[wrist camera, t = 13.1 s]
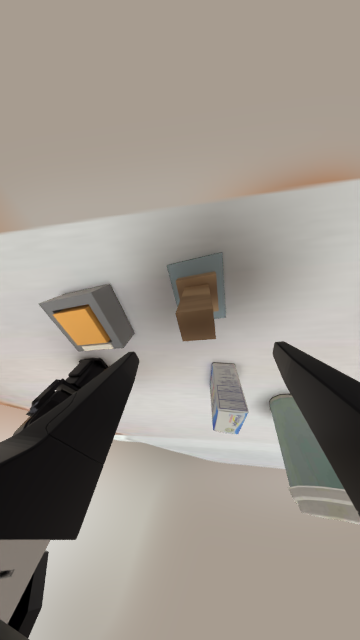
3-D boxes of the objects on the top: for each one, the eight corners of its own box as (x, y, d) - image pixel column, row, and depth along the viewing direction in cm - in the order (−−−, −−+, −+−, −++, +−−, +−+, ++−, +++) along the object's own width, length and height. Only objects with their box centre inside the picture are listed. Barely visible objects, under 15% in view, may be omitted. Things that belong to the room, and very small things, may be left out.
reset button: (118, 330, 23) (107, 342, 20) (92, 333, 24) (77, 345, 21) (101, 299, 20) (84, 308, 17) (72, 305, 21) (52, 314, 18)
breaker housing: (134, 333, 24) (123, 348, 21) (94, 337, 26) (77, 352, 23) (109, 283, 20) (89, 293, 16) (63, 294, 22) (36, 304, 18)
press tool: (217, 306, 19) (227, 346, 11) (184, 310, 20) (174, 349, 13) (215, 271, 16) (226, 294, 9) (177, 278, 17) (160, 303, 10)
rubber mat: (225, 316, 20) (225, 317, 19) (181, 321, 21) (181, 322, 21) (221, 252, 15) (222, 252, 15) (167, 265, 17) (166, 265, 17)
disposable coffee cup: (320, 407, 28) (418, 543, 15) (270, 416, 33) (313, 525, 20) (301, 382, 25) (405, 528, 12) (248, 396, 30) (284, 511, 17)
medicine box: (212, 361, 25) (216, 410, 18) (235, 363, 25) (250, 414, 17) (209, 384, 29) (212, 431, 22) (229, 386, 29) (239, 436, 21)
